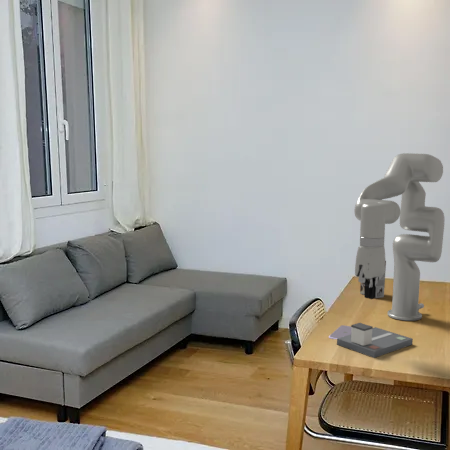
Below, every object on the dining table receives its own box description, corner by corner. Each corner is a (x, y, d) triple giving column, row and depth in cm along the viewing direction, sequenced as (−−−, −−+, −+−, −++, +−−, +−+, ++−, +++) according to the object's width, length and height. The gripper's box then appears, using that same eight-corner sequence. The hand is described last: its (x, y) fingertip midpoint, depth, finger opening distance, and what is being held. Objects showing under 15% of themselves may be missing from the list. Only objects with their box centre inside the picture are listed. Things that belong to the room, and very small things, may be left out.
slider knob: (359, 338, 194) (359, 322, 193) (371, 343, 190) (372, 326, 189) (350, 341, 191) (351, 325, 190) (363, 346, 187) (364, 329, 186)
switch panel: (375, 332, 207) (375, 326, 207) (412, 344, 195) (412, 338, 195) (336, 344, 195) (337, 338, 194) (374, 357, 183) (374, 351, 183)
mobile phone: (362, 327, 210) (349, 340, 197) (361, 330, 211) (349, 342, 197) (341, 324, 214) (327, 336, 201) (341, 326, 214) (327, 339, 201)
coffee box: (359, 293, 259) (360, 257, 257) (371, 292, 262) (372, 256, 260) (372, 298, 251) (374, 261, 249) (384, 297, 254) (386, 260, 252)
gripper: (377, 237, 195) (374, 291, 198) (347, 243, 186) (345, 299, 189) (396, 240, 189) (393, 296, 192) (366, 246, 180) (364, 305, 183)
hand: (369, 297), depth 191 cm, fingers closed
